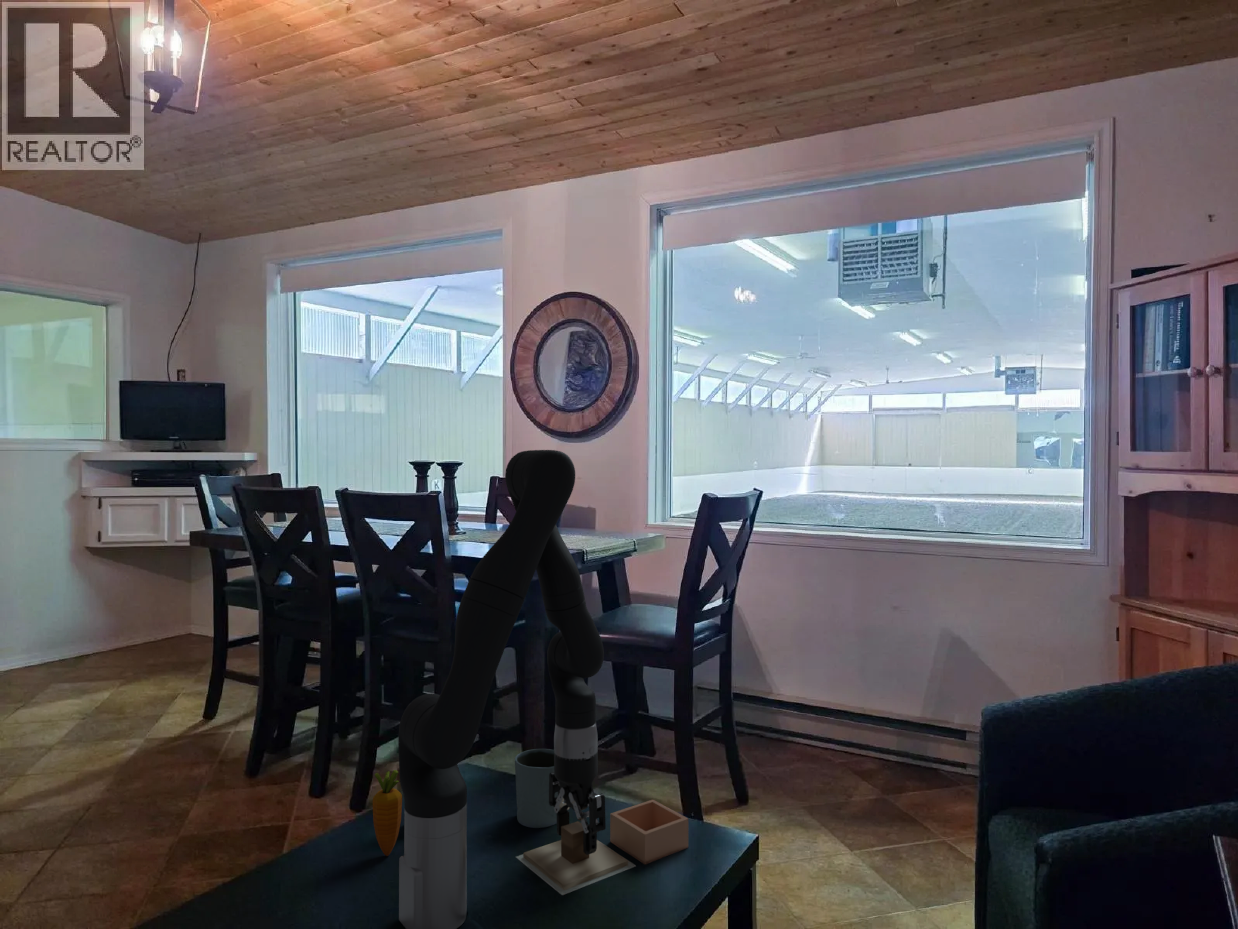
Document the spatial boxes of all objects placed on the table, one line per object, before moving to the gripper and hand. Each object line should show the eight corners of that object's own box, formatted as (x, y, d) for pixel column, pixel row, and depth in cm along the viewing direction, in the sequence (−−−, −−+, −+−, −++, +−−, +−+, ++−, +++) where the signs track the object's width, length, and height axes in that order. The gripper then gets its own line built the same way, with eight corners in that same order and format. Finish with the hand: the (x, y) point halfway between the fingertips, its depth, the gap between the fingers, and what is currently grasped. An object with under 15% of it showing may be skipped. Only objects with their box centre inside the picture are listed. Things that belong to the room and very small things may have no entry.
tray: (562, 897, 122) (562, 895, 122) (515, 859, 134) (515, 857, 134) (636, 868, 131) (636, 866, 131) (586, 834, 143) (586, 832, 143)
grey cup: (508, 813, 152) (508, 752, 152) (556, 804, 156) (556, 745, 156) (524, 836, 142) (524, 771, 142) (574, 825, 147) (574, 762, 147)
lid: (563, 890, 123) (564, 854, 123) (523, 857, 134) (523, 824, 134) (628, 865, 131) (628, 831, 131) (584, 836, 141) (585, 804, 141)
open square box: (644, 866, 131) (645, 834, 131) (610, 844, 139) (610, 813, 139) (688, 849, 137) (688, 818, 137) (652, 828, 145) (652, 799, 145)
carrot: (366, 858, 134) (366, 772, 134) (387, 846, 138) (387, 763, 138) (387, 865, 131) (387, 778, 132) (407, 853, 136) (408, 768, 136)
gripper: (535, 741, 136) (536, 834, 136) (581, 767, 124) (581, 867, 124) (571, 732, 140) (571, 822, 140) (618, 756, 129) (618, 853, 129)
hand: (576, 843), depth 132 cm, fingers open, 8 cm apart
